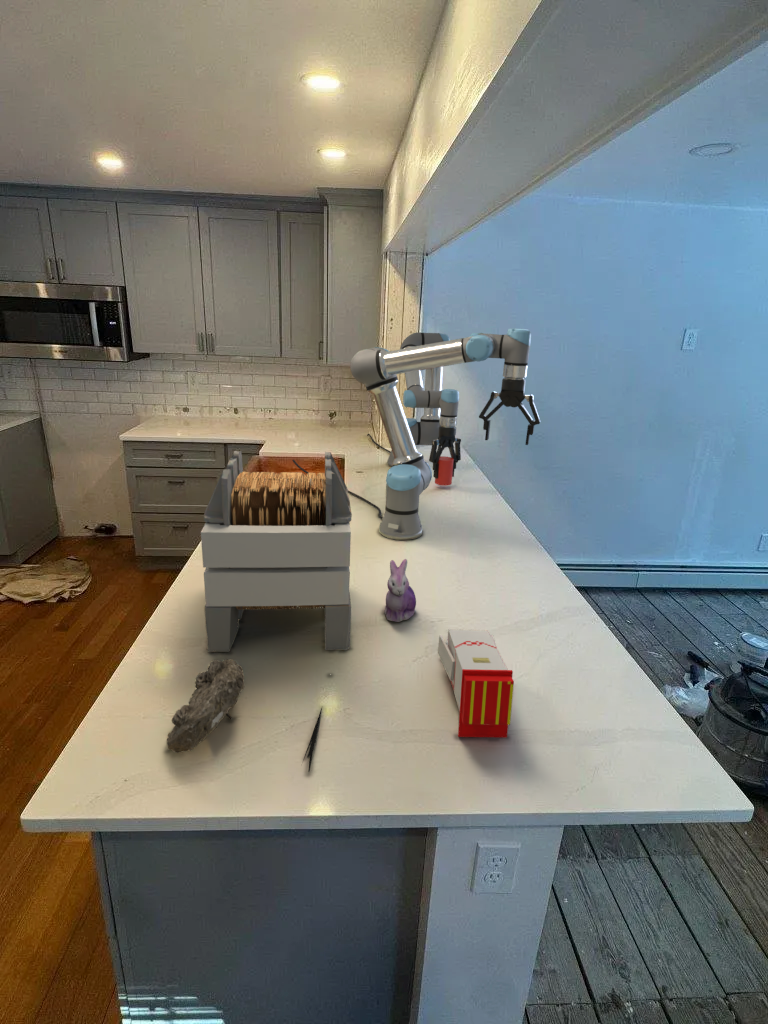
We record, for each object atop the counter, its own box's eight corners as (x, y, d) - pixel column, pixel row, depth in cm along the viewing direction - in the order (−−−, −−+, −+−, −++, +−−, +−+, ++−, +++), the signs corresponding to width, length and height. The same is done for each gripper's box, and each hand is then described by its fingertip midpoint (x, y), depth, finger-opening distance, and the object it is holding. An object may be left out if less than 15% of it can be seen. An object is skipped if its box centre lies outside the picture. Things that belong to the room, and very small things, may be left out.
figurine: (392, 627, 141) (395, 572, 136) (374, 608, 149) (376, 556, 144) (425, 619, 145) (429, 566, 140) (405, 601, 154) (408, 550, 149)
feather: (331, 679, 122) (336, 673, 122) (307, 777, 96) (313, 769, 95) (324, 675, 122) (329, 669, 121) (298, 772, 95) (304, 764, 95)
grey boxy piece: (227, 584, 158) (219, 441, 145) (344, 583, 162) (347, 443, 148) (205, 654, 127) (191, 480, 113) (351, 650, 130) (355, 481, 117)
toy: (488, 613, 130) (523, 677, 101) (484, 667, 133) (517, 744, 104) (435, 612, 130) (455, 676, 101) (432, 666, 133) (451, 743, 103)
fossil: (192, 660, 117) (244, 628, 112) (224, 691, 120) (276, 661, 115) (142, 746, 98) (202, 712, 93) (182, 779, 101) (242, 748, 96)
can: (435, 485, 250) (437, 460, 246) (434, 480, 257) (436, 456, 254) (452, 485, 250) (454, 461, 246) (450, 481, 257) (452, 456, 254)
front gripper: (554, 380, 185) (545, 443, 193) (478, 374, 193) (472, 435, 200) (552, 382, 179) (543, 448, 186) (474, 376, 186) (468, 439, 194)
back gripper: (431, 428, 238) (427, 481, 245) (472, 426, 246) (467, 477, 254) (422, 425, 244) (419, 476, 252) (462, 423, 253) (458, 472, 260)
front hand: (506, 441), depth 193 cm, fingers open, 13 cm apart
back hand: (443, 476), depth 253 cm, fingers closed on can, 7 cm apart
